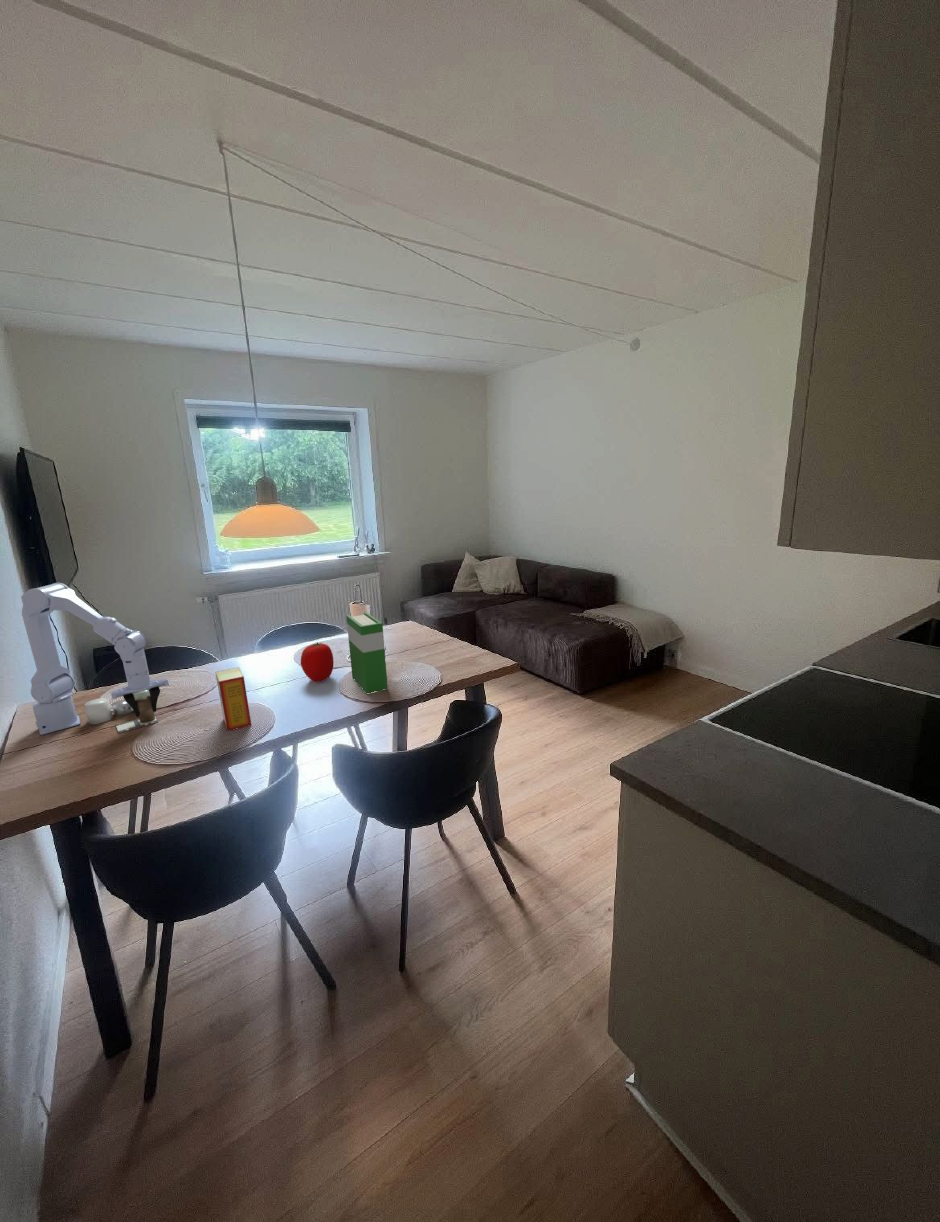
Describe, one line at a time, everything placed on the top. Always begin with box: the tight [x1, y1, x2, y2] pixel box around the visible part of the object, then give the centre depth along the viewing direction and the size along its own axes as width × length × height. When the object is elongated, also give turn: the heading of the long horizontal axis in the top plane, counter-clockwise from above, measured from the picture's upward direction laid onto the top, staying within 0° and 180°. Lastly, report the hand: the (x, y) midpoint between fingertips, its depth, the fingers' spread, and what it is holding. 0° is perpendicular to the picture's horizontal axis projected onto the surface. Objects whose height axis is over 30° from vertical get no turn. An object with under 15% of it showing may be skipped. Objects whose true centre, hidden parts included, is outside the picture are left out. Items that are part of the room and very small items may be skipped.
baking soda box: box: [215, 666, 252, 732], centre depth 146 cm, size 10×6×16 cm
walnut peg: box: [135, 696, 156, 723], centre depth 150 cm, size 4×4×7 cm
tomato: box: [300, 642, 334, 683], centre depth 178 cm, size 13×11×14 cm
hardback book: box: [345, 611, 389, 694], centre depth 171 cm, size 18×7×24 cm, turn 29°
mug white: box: [84, 697, 113, 725], centre depth 153 cm, size 6×8×6 cm
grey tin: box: [111, 699, 133, 717], centre depth 157 cm, size 5×5×4 cm
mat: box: [115, 716, 159, 734], centre depth 149 cm, size 10×7×1 cm
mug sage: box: [133, 690, 150, 700], centre depth 160 cm, size 6×8×6 cm
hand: (145, 713), depth 150 cm, fingers closed on walnut peg, 4 cm apart
